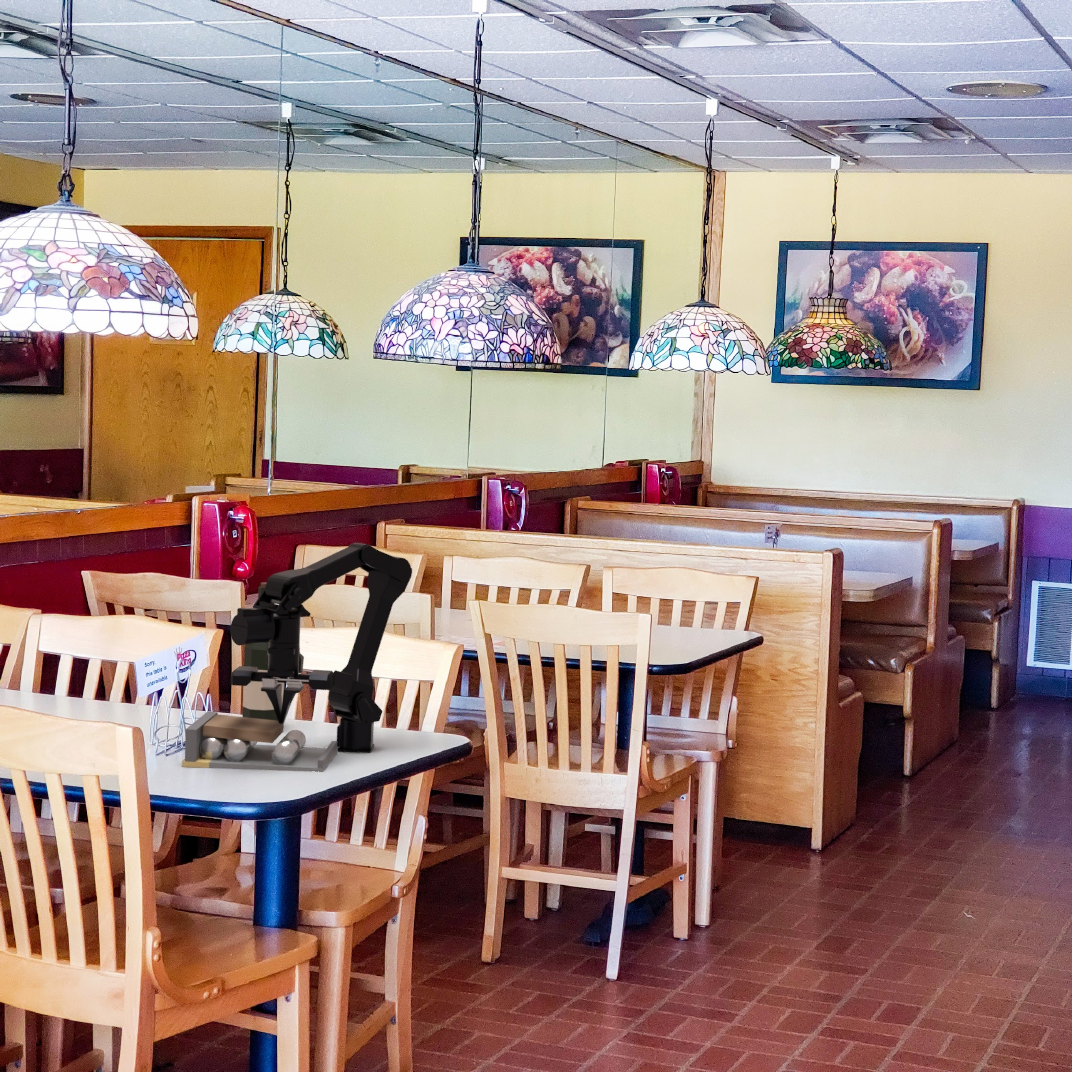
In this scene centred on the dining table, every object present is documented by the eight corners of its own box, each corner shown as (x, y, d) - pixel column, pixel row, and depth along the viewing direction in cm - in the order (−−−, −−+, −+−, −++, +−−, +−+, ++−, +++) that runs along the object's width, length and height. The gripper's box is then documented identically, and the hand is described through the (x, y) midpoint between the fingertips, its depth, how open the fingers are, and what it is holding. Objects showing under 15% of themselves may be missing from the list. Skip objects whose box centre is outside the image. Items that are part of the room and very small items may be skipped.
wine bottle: (243, 730, 302) (248, 585, 300) (240, 721, 310) (244, 580, 308) (284, 730, 304) (289, 585, 302) (280, 721, 312) (285, 580, 310)
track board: (336, 753, 286) (338, 718, 285) (322, 773, 270) (324, 736, 269) (203, 746, 286) (204, 711, 286) (181, 766, 271) (182, 729, 270)
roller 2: (263, 735, 284) (250, 751, 284) (246, 722, 283) (234, 738, 284) (250, 749, 272) (236, 766, 272) (232, 736, 271) (219, 752, 272)
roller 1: (233, 747, 284) (213, 742, 284) (237, 727, 284) (217, 722, 284) (218, 762, 272) (197, 757, 272) (223, 741, 272) (201, 736, 272)
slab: (283, 731, 282) (284, 721, 282) (272, 743, 272) (273, 732, 272) (216, 724, 283) (216, 714, 282) (202, 735, 273) (203, 725, 272)
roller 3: (305, 751, 283) (284, 749, 283) (306, 730, 283) (285, 728, 283) (292, 766, 271) (271, 764, 271) (294, 744, 271) (272, 742, 271)
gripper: (340, 637, 284) (338, 716, 285) (244, 632, 284) (242, 712, 286) (330, 646, 273) (328, 729, 274) (230, 641, 273) (228, 724, 275)
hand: (281, 723), depth 277 cm, fingers closed
